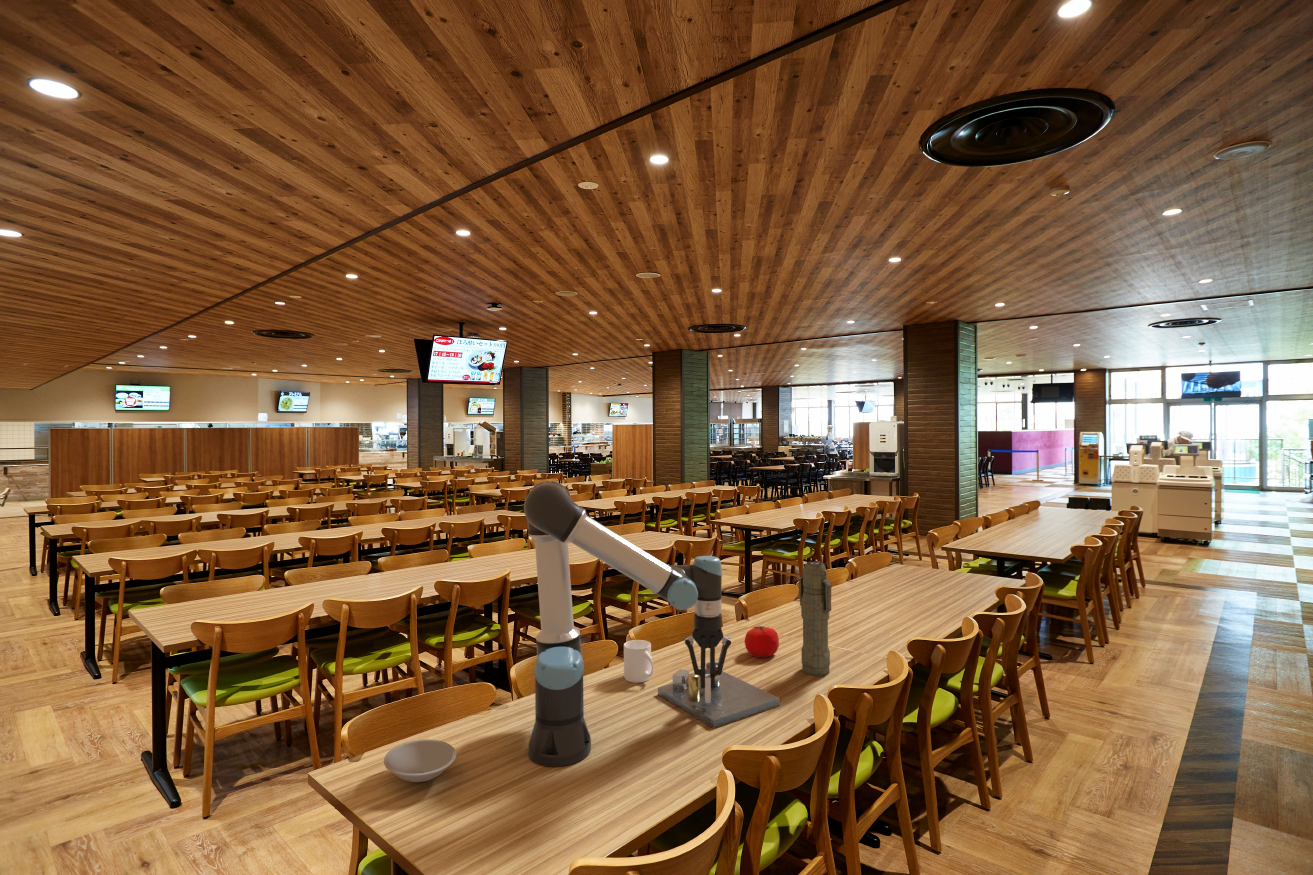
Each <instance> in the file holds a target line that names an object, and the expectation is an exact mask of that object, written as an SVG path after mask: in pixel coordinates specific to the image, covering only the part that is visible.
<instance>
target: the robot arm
mask: <svg viewBox="0 0 1313 875" xmlns="http://www.w3.org/2000/svg"><path fill="white" fill-rule="evenodd" d="M523 512H524V515H525V518H526V520H527V521H526V522H527V530H528V531H527V532H528V533H527V534H528V536H529V537H530V538H531V539H533V540H534V549H535V562H536V563H535V564H536V573H537V576H536V577H537V587H538V588H537V590H538V602H539V618H540V629H541V630H540V631H539V632H538V634H536V635H535V642H536V643H535V644H536V659H535V661H534V662H535V664H534V669H533V674H534V678H535V679H534V689H535V690H534V691H535V692H534V693H535V694H534V696H535V698H534V699H535V702H534V703H535V706H534V707H535V710H534V712H535V713H534V714H535V721H534V725H533V728H532V732H531V734H530V737H529V741H528V746H527V747H528V752H527V753H528V758H529V759H530V760H531V761H532V762H533V763H535V764H538V765H541V766H545V767H565V766H570V765H574V764H576V763H578V762H581V761H582V760H584V759H586V758H587V757H588V756H589V755H590V753H591V751H592V738H591V734H590V731H589V729H588V725H587V723H586V720H585V716H584V715H585V714H584V712H585V711H584V705H585V704H584V703H585V702H584V672H585V665H584V659H583V651H582V643H581V632H580V630H579V629H578V628H577V627H576V626H575V624H574V613H573V612H574V610H573V597H572V594H573V593H572V583H571V568H570V555H569V554H570V553H569V543H570V544H572V545H574V546H577V547H578V548H580V549H581V550H583V551H585V552H587V553H588V554H590V555H591V556H593V557H595V558H596V559H598V560H600V561H602V562H603V563H605V564H606V565H608V566H609V567H611V568H612V569H614V570H617V571H618V572H619V573H621V574H623V575H624V576H626V577H628V578H629V579H630V580H633V581H634V582H636V583H638V584H639V585H641V586H643V587H645V588H646V589H647V590H649V591H651V592H652V594H654V595H657V596H659V597H660V598H662V599H664V600H665V601H667V602H668V603H669V604H670V606H672V607H674V609H677V610H679V611H686V610H690V609H691V608H692V607H693V610H694V615H693V630H692V633H691V634H690V636H686V637H685V638H684V645H685V646H686V647H687V649H688V653H689V656H690V660H691V664H692V670H693V673H695V675H699V676H700V677H701V688H705V702H711V688H712V689H714V687H715V676H717V675H721V673H722V671H723V668H724V664H725V661H726V656H727V652H728V649H729V648H730V647H731V644H732V641H731V638H730V637H726V636H725V635H724V633H723V630H722V623H723V622H722V618H723V617H722V606H723V605H722V604H723V603H722V599H723V598H722V584H723V583H722V580H723V579H722V576H723V574H722V572H723V571H722V561H721V559H720V558H719V557H716V556H714V555H713V556H712V555H701V556H696V557H695V558H694V560H693V561H694V562H693V564H683V565H681V564H679V565H677V564H676V565H670V564H669V565H667V563H665V562H663V561H661V560H660V559H658V558H657V557H655V556H653V555H652V554H650V553H648V552H647V551H645V550H643V549H642V548H641V547H639V546H637V545H635V544H634V543H632V542H631V541H629V540H627V539H625V538H624V537H622V536H620V535H619V534H618V533H616V532H615V531H612V530H611V529H609V528H608V527H606V526H605V525H603V524H601V523H600V522H598V521H596V520H595V519H594V518H592V517H590V516H588V515H587V511H586V509H585V508H583V507H582V506H580V505H578V504H577V503H576V502H575V501H573V500H572V497H571V494H570V492H569V489H567V488H566V487H565V486H564V485H563V484H561V483H559V482H557V481H553V480H552V481H549V480H546V481H541V482H539V483H537V484H535V485H534V486H533V487H531V489H530V491H529V492H528V494H527V495H526V497H525V499H524V503H523ZM694 641H695V643H696V644H697V645H698V647H700V668H699V666H698V661H697V658H696V653H695V649H694ZM720 642H721V643H722V646H721V650H720V653H719V658H718V662H717V663H718V665H717V669H715V662H716V655H715V654H716V647H717V646H718V645H719V644H720ZM706 649H709V663H710V674H705V670H706V651H707V650H706Z"/></svg>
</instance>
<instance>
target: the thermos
mask: <svg viewBox="0 0 1313 875" xmlns="http://www.w3.org/2000/svg"><path fill="white" fill-rule="evenodd" d="M825 565H826V564H824V563H823V562H820V561H808V562H806V563H805V564H804V567H803V569H802V574H801V575H800V577H799V578H798V580H799V582H798V583H799V584H798V585H799V587H798V588H799V590H798V591H799V592H798V594H799V606H800V609H801V610H800V612H801V614H800V616H801V618H802V643H803V644H802V647H801V665H802V666H801V671H802V672H803V673H804V674H806V675H808V676H813V677H825V676H828V675H829V674H830V665H831V651H830V648H829V622H828V621H829V620H830V612H831V611H832V583H831V581H830V580H829V579H828V572H827V569H826V566H825Z"/></svg>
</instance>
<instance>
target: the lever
mask: <svg viewBox="0 0 1313 875" xmlns="http://www.w3.org/2000/svg"><path fill="white" fill-rule="evenodd" d="M717 665H718V662H716V661H715V669H717ZM705 674H710V662H708V663H705ZM699 688H701V677H700V676H699V675H695V673H694V672H693V673H689V701H690V702H698V701H700V691H699ZM701 689H703V688H701Z"/></svg>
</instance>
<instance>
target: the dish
mask: <svg viewBox="0 0 1313 875" xmlns="http://www.w3.org/2000/svg"><path fill="white" fill-rule="evenodd" d="M456 751H457V750H456V749H455V747H453V746H452V745H451V744H450V743H447V742H445V741H442V740H438V739H431V738H430V739H429V738H427V739H416V740H410V741H406V742H403V743H401V744H398V745H396V746H394V747H393V748H392V749H389V751H387V753H386V754H385V756H384V758H383V765H384V767H385V768H386V770H387V771H389V772H391V773H393V774H394V775H395V776H396V777H397V778H399V779H400V780H403V781H406V782H411V783H423V782H426V781H427V782H428V781H430V780H433V779H435V778H437V777H438V776H440V775H441V774H442V773H444V772H445V771H446V770H447V769H448V768H449V767H450V766H451V765H453V763H454V762H455V760H456V757H457V752H456Z"/></svg>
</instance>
